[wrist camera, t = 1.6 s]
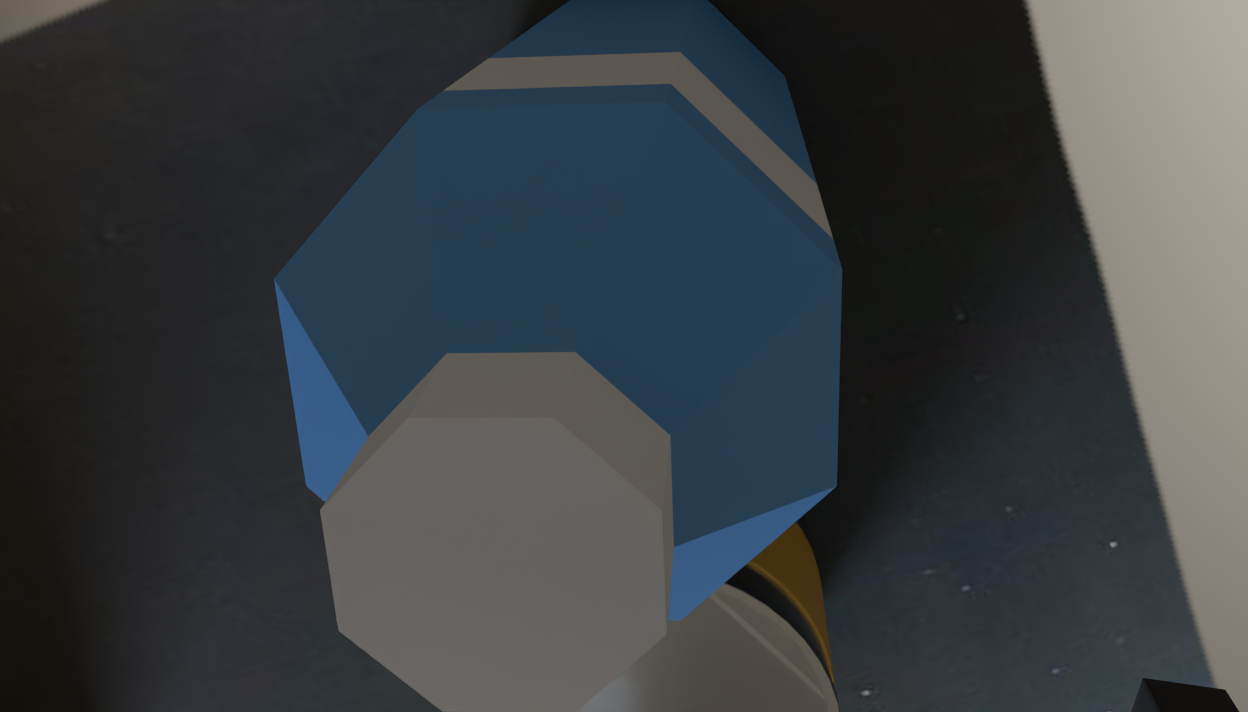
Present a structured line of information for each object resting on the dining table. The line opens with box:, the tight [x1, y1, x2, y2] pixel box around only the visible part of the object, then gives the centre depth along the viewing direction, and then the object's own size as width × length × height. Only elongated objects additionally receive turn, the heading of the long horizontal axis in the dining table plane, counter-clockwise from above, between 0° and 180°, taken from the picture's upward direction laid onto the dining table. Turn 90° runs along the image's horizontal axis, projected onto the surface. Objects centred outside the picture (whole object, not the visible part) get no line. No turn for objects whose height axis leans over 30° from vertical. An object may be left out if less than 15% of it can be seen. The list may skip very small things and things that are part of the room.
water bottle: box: [274, 0, 842, 712], centre depth 25 cm, size 9×9×25 cm
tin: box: [577, 516, 840, 712], centre depth 38 cm, size 11×11×9 cm
